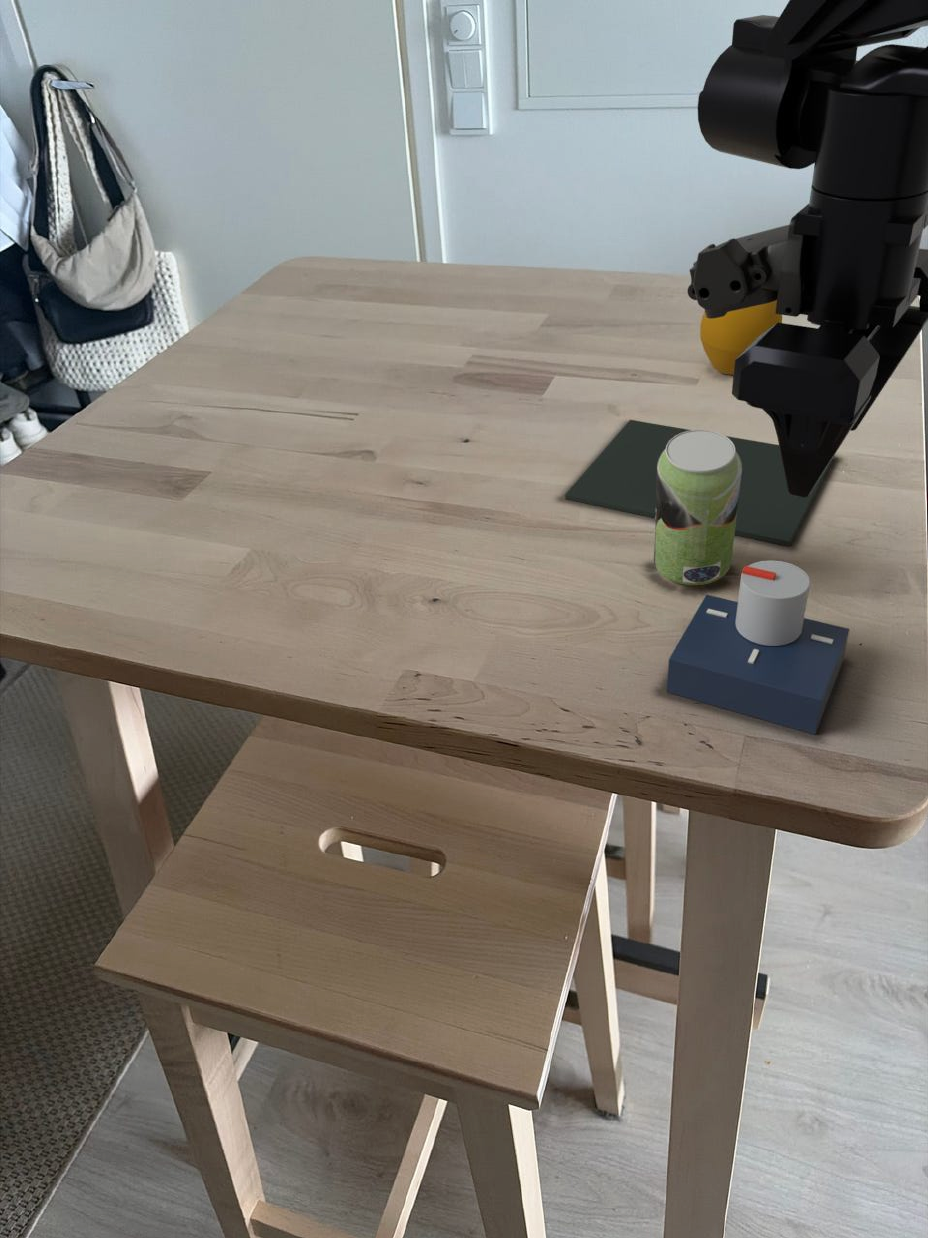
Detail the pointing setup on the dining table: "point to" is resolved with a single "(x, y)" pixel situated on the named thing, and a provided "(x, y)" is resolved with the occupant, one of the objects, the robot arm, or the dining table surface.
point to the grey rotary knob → (772, 602)
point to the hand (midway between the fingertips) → (823, 460)
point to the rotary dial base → (757, 668)
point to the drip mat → (632, 477)
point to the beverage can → (696, 507)
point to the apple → (735, 333)
